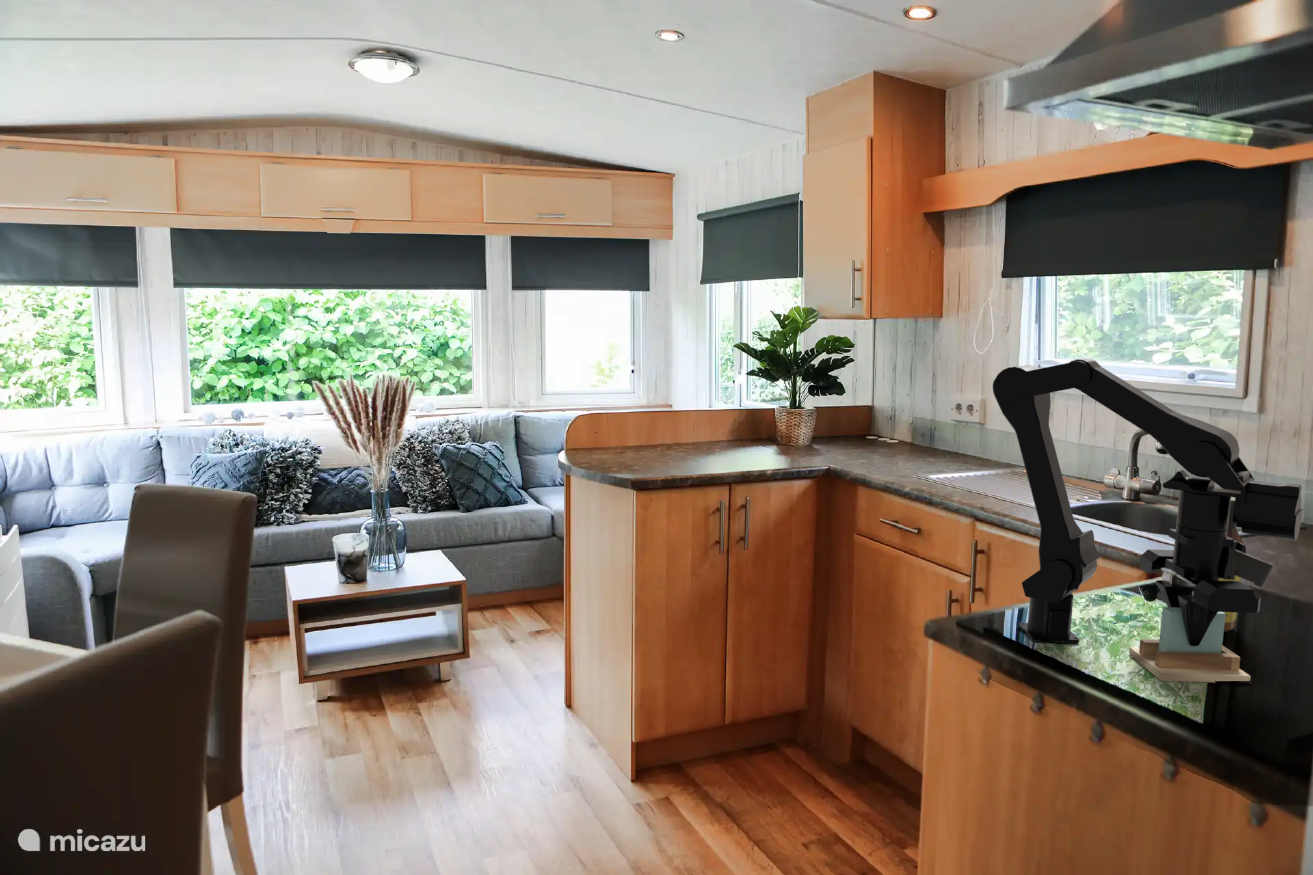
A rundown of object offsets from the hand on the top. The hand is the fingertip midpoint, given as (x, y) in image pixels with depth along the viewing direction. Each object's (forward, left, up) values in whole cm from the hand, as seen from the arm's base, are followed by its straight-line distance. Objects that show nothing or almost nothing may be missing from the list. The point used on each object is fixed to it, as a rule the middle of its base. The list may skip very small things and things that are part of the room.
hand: (1189, 642), depth 123 cm
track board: (0, 0, -4) cm, 4 cm away
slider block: (0, 0, -2) cm, 2 cm away
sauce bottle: (-17, +12, -4) cm, 21 cm away
